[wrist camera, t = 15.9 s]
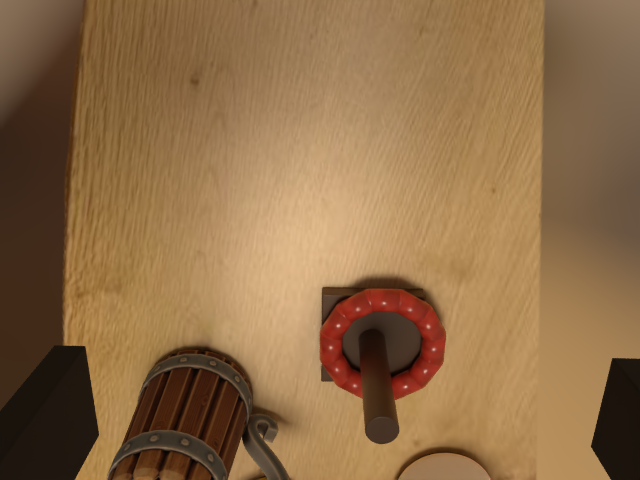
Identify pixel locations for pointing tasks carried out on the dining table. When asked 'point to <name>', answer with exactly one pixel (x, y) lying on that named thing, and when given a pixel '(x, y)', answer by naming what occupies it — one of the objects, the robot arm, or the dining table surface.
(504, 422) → the dining table surface
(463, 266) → the dining table surface
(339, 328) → the ring
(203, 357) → the mug
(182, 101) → the dining table surface
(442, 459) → the cup
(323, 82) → the dining table surface
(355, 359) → the stand
